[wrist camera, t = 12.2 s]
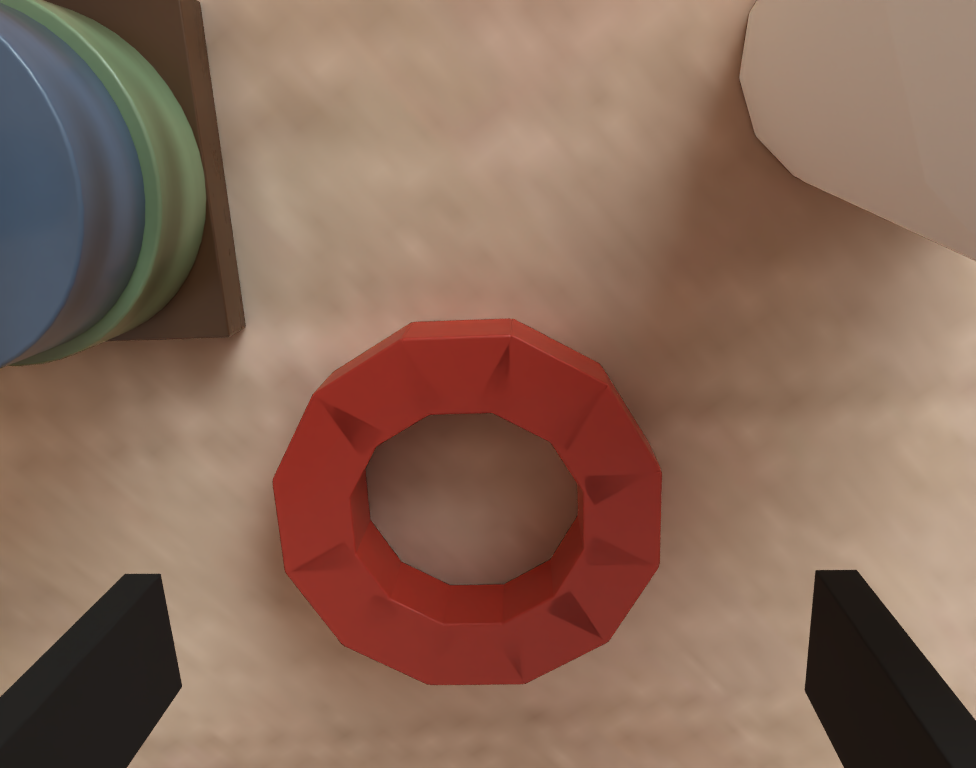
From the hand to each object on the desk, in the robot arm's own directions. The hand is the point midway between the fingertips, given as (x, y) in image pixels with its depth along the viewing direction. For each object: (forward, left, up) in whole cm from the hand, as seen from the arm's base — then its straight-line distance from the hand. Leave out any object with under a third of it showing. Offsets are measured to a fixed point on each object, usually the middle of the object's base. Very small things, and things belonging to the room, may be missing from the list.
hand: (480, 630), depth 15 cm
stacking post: (+10, -9, -7) cm, 15 cm away
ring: (+1, 0, -7) cm, 7 cm away
